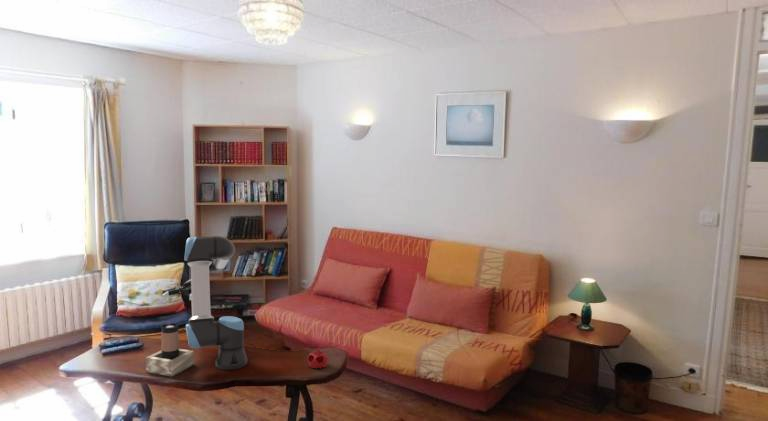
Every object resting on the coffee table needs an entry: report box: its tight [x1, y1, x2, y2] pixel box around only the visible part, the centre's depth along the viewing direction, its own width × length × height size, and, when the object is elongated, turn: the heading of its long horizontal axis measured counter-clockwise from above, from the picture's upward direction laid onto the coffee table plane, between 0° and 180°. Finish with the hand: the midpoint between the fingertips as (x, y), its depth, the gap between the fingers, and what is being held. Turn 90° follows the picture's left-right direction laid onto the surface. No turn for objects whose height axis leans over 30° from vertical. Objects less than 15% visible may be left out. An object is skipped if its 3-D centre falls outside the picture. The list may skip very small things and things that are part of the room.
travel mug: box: [160, 323, 180, 360], centre depth 243 cm, size 8×8×20 cm
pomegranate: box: [307, 347, 329, 369], centre depth 251 cm, size 10×10×9 cm
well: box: [145, 348, 195, 377], centre depth 244 cm, size 15×15×7 cm
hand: (176, 297), depth 258 cm, fingers open, 13 cm apart
